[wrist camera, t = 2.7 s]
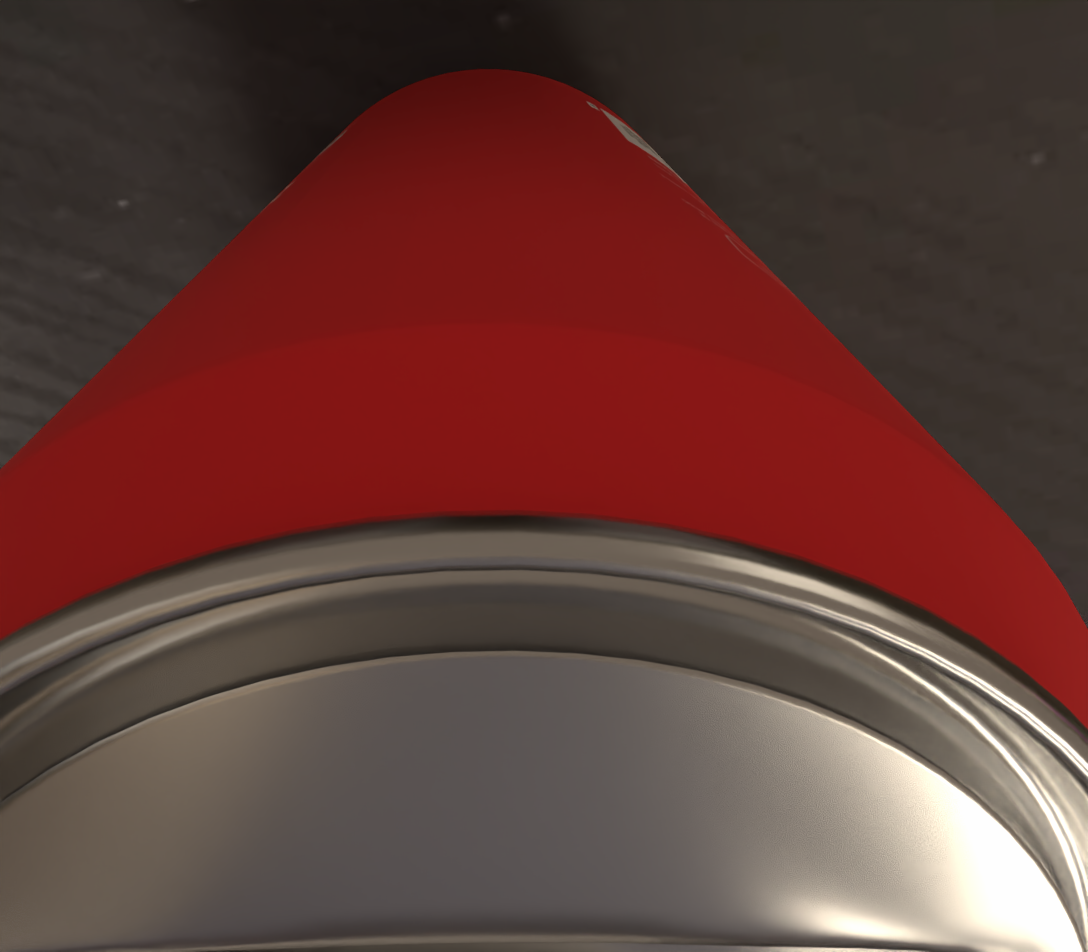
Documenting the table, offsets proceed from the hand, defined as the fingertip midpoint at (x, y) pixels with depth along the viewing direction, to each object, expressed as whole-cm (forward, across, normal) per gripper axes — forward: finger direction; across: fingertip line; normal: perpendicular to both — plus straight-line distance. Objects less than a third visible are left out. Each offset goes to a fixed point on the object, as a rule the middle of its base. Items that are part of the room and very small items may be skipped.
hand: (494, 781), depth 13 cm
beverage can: (+5, 0, -5) cm, 7 cm away
